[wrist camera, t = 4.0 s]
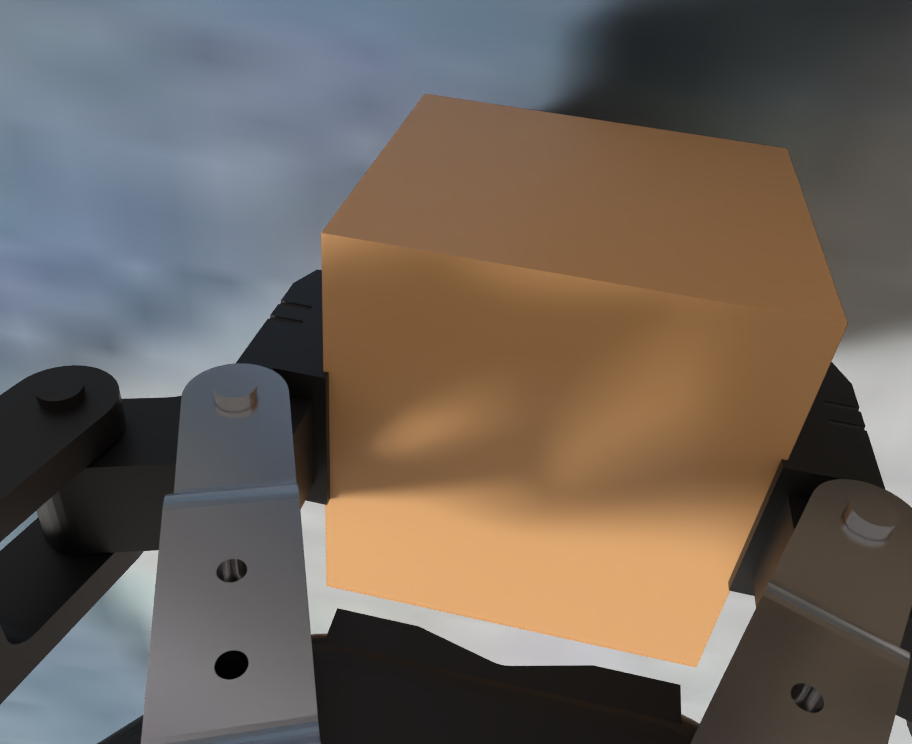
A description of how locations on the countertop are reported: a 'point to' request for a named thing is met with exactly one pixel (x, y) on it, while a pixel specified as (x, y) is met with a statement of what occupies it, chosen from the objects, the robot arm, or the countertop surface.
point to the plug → (565, 369)
